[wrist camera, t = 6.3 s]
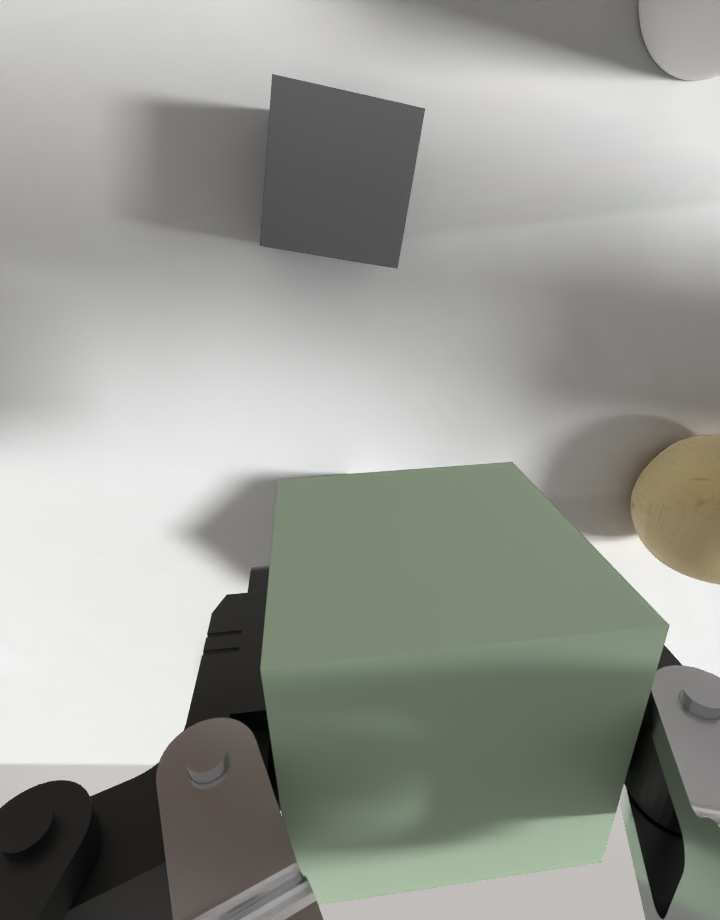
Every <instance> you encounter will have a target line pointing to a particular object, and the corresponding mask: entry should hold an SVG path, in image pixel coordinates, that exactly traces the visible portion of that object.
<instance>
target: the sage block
mask: <svg viewBox="0 0 720 920" xmlns="http://www.w3.org/2000/svg"><path fill="white" fill-rule="evenodd" d="M668 629H669V624H668V623H667V622H666V621H665V620H664V619H663V618H662V617H661V616H660V615H659V614H658V613H657V612H656V611H655V610H654V609H653V608H652V607H651V606H650V605H649V604H648V603H647V601H646V600H645V599H644V598H643V597H642V596H641V595H640V594H639V593H638V592H637V591H636V590H635V589H634V588H633V587H632V586H631V585H630V584H629V583H628V582H627V581H626V580H625V579H624V578H623V577H622V575H621V574H620V573H619V572H618V571H617V570H616V569H615V568H614V567H613V566H612V565H611V564H610V563H609V562H608V561H607V560H606V559H605V558H604V557H603V556H602V555H601V554H600V553H599V552H598V551H597V550H596V548H595V547H594V546H593V545H592V544H591V543H590V542H589V541H588V540H587V539H586V538H585V537H584V536H583V535H582V534H581V533H580V532H579V531H578V530H577V529H576V528H575V527H574V526H573V525H572V524H571V523H570V521H569V520H568V519H567V518H566V517H565V516H564V515H563V514H562V513H561V512H560V511H559V510H558V509H557V508H556V507H555V506H554V505H553V504H552V503H551V502H550V501H549V500H548V499H547V498H546V497H545V496H544V494H543V493H542V492H541V491H540V490H539V489H538V488H537V487H536V486H535V485H534V484H533V483H532V482H531V481H530V480H529V479H528V478H527V477H526V476H525V475H524V474H523V473H522V472H521V471H520V470H519V469H518V467H517V466H516V465H515V464H514V463H513V462H506V463H492V464H478V465H465V466H451V467H438V468H424V469H410V470H397V471H383V472H369V473H356V474H342V475H329V476H315V477H301V478H288V479H278V482H277V492H276V503H275V514H274V525H273V536H272V547H271V558H270V569H269V579H268V590H267V601H266V612H265V623H264V634H263V645H262V656H261V666H260V671H261V678H262V684H263V691H264V698H265V705H266V711H267V718H268V725H269V732H270V739H271V745H272V752H273V759H274V766H275V772H276V779H277V786H278V793H279V800H280V806H281V813H282V819H283V822H284V825H285V828H286V831H287V834H288V837H289V840H290V843H291V845H292V848H293V851H294V854H295V857H296V860H297V863H298V866H299V868H300V871H301V873H302V875H303V876H304V875H305V876H306V877H307V879H308V881H309V883H310V885H311V888H312V890H313V892H314V895H315V898H316V900H317V903H318V905H322V904H329V903H336V902H342V901H349V900H355V899H362V898H369V897H375V896H382V895H389V894H395V893H402V892H409V891H414V890H422V889H429V888H435V887H442V886H449V885H454V884H462V883H468V882H475V881H482V880H488V879H495V878H502V877H508V876H515V875H522V874H528V873H535V872H541V871H548V870H555V869H562V868H568V867H574V866H581V865H588V864H595V863H601V862H602V859H603V855H604V852H605V848H606V845H607V841H608V838H609V835H610V831H611V827H612V824H613V821H614V817H615V814H616V810H617V806H618V803H619V800H620V796H621V793H622V789H623V786H624V782H625V779H626V775H627V772H628V768H629V765H630V761H631V758H632V754H633V751H634V747H635V744H636V740H637V737H638V733H639V730H640V726H641V723H642V719H643V716H644V712H645V709H646V705H647V702H648V698H649V695H650V691H651V688H652V685H653V681H654V678H655V674H656V671H657V667H658V664H659V660H660V657H661V653H662V650H663V646H664V643H665V639H666V636H667V632H668Z"/></svg>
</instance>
